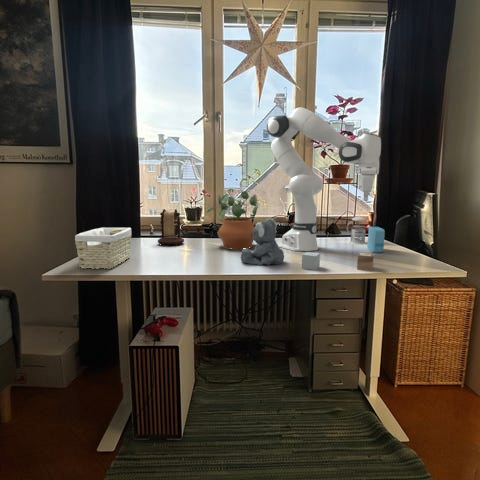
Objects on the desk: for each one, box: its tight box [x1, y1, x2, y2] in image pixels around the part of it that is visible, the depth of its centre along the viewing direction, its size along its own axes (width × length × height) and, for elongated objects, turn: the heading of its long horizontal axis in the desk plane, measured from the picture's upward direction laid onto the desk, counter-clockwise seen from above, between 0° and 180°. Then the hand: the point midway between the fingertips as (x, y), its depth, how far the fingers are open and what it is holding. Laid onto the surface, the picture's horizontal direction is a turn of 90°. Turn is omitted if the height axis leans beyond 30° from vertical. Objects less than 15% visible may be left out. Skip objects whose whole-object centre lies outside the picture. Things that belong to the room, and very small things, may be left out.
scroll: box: [157, 208, 185, 246], centre depth 198 cm, size 15×15×20 cm
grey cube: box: [301, 251, 321, 271], centre depth 148 cm, size 6×6×6 cm
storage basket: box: [74, 227, 132, 270], centre depth 154 cm, size 24×16×15 cm
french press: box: [346, 199, 368, 245], centre depth 202 cm, size 10×12×25 cm
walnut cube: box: [356, 252, 374, 272], centre depth 147 cm, size 6×6×6 cm
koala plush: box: [240, 217, 285, 266], centre depth 157 cm, size 17×18×20 cm
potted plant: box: [206, 191, 259, 250], centre depth 190 cm, size 23×28×30 cm
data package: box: [367, 226, 386, 254], centre depth 181 cm, size 12×4×12 cm, turn 176°
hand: (365, 201), depth 161 cm, fingers closed
